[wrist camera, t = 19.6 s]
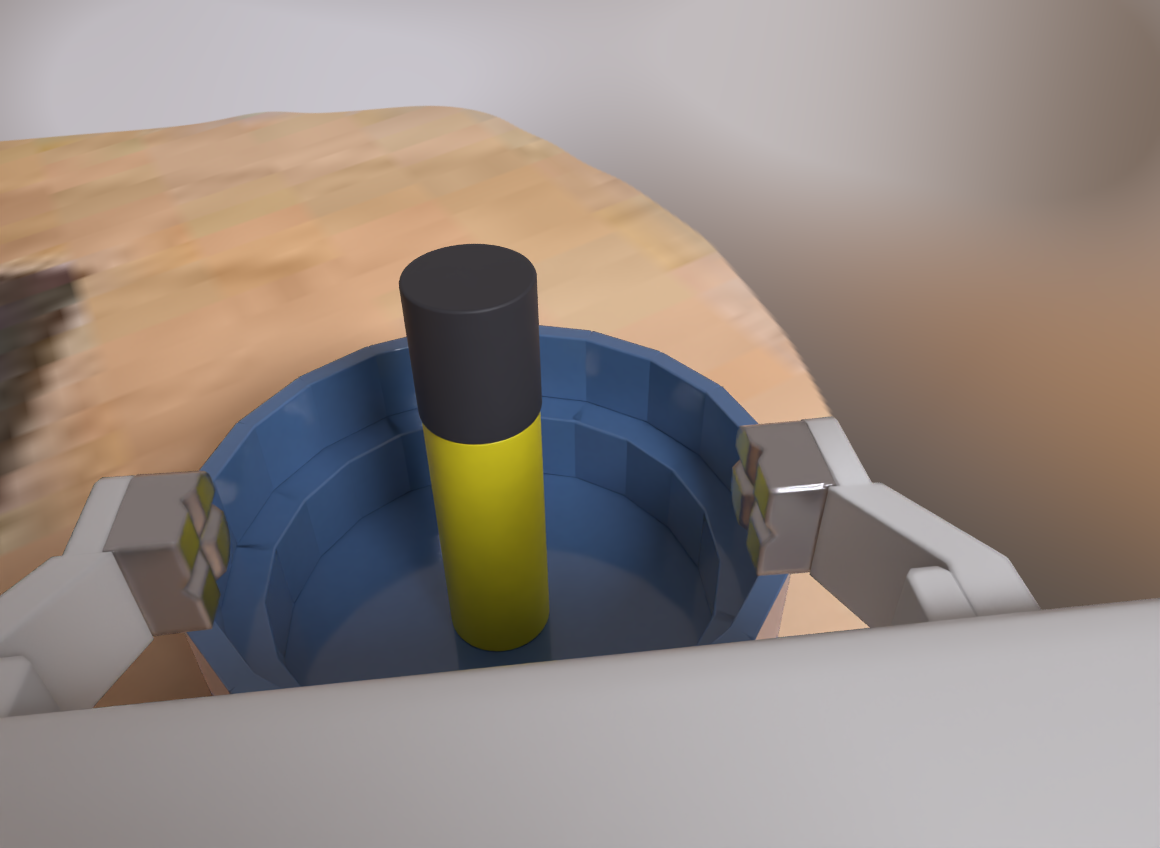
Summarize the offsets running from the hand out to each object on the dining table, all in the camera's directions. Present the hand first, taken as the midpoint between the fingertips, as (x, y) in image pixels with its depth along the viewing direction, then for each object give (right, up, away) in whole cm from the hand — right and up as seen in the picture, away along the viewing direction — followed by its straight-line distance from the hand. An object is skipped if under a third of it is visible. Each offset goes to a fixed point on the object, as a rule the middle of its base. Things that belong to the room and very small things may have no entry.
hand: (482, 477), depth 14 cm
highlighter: (-1, -5, +12) cm, 13 cm away
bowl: (-1, -5, +12) cm, 13 cm away
